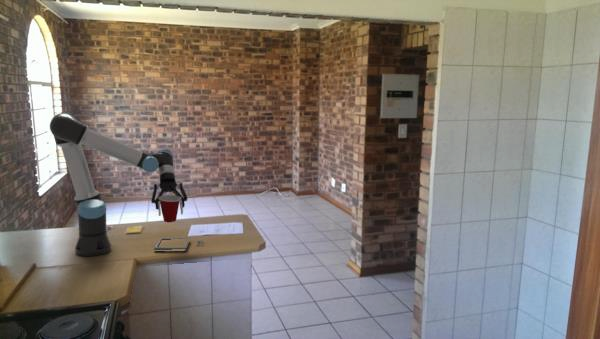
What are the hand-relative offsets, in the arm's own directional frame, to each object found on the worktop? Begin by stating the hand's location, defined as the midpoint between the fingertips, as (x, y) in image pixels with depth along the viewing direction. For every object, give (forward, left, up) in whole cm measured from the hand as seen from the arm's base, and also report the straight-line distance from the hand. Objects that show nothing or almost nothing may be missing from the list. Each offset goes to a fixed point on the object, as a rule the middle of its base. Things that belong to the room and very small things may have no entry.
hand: (171, 213), depth 203 cm
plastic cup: (-1, +3, -5) cm, 6 cm away
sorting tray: (0, +2, -18) cm, 18 cm away
